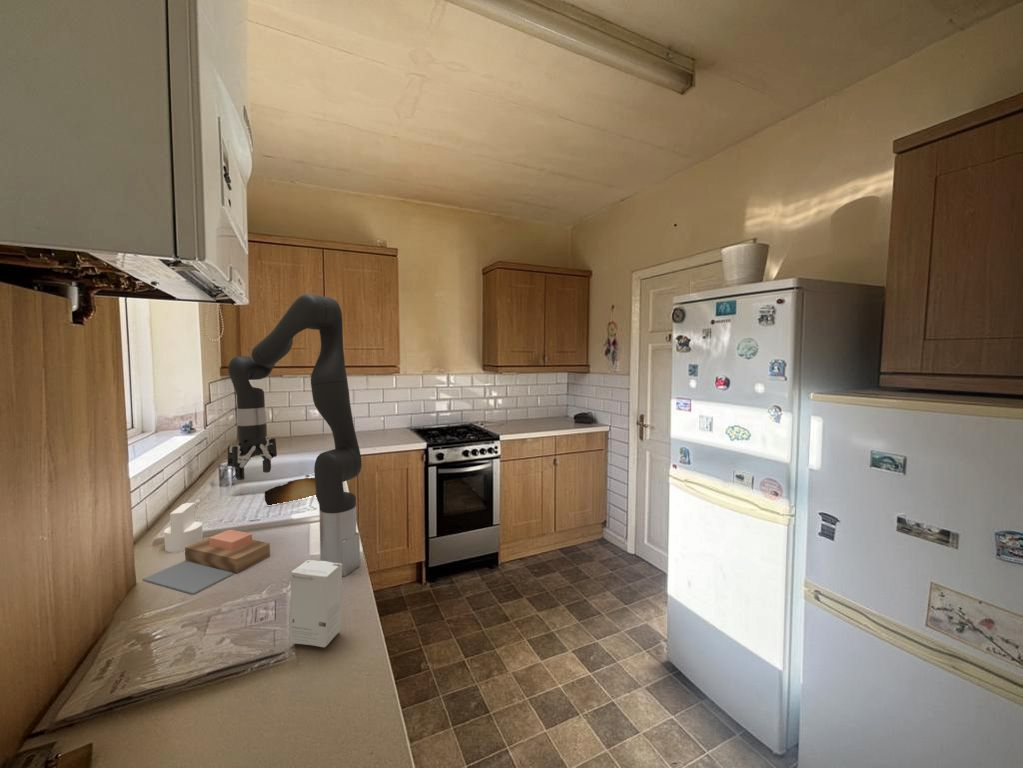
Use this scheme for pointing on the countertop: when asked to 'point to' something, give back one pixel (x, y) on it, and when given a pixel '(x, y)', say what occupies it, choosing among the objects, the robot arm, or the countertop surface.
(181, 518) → the base with upright slab
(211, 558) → the deck
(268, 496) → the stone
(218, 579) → the mat
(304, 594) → the skincare box
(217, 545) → the salmon pink flat block
